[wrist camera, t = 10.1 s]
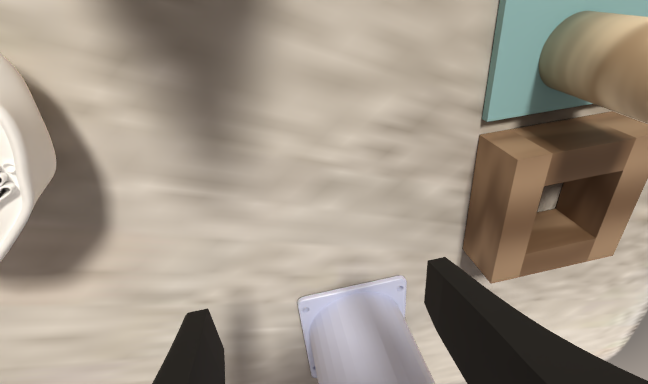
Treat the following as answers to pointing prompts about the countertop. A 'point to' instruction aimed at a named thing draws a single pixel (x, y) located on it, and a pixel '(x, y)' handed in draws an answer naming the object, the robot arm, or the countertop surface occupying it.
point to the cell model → (20, 155)
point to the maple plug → (600, 61)
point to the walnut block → (574, 201)
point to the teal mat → (534, 53)
